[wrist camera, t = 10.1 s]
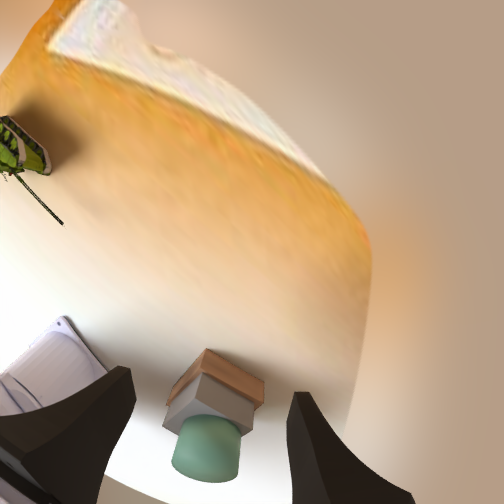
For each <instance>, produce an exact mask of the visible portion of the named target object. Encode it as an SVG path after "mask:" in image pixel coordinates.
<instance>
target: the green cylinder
mask: <svg viewBox="0 0 504 504" xmlns="http://www.w3.org/2000/svg"><path fill="white" fill-rule="evenodd" d="M240 445H241V431H240V429H239V428H238V427H237V426H236V425H235V424H234V423H232V422H231V421H229V420H227V419H225V418H222V417H219V416H215V415H208V414H199V415H194V416H191V417H188V418H187V419H186V420H185V421H184V422H183V424H182V427H181V431H180V434H179V437H178V440H177V444H176V447H175V450H174V454H173V457H172V461H171V462H172V465H173V467H174V468H175V469H176V470H177V471H178V472H180V473H181V474H183V475H185V476H187V477H189V478H192V479H195V480H198V481H203V482H210V483H221V482H227V481H230V480H233V479H234V478H236V477H237V475H238V468H239V456H240Z"/></svg>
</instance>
